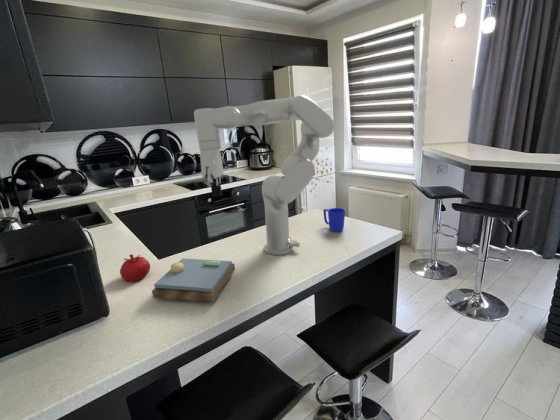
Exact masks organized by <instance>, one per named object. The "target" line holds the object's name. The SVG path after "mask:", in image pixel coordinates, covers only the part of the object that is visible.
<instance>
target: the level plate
mask: <svg viewBox="0 0 560 420" xmlns="http://www.w3.org/2000/svg"><path fill="white" fill-rule="evenodd" d="M232 263H233V261H232V260H217V259H198V258H185V257H184V258H181V259H180V260H179V261H178V262H175V263H172V264H171V265H170V269H169V270H168V271H167V272H166V273H164V275H163V276H162V277H160V278H159V279H158V280H157V281H156V282H155V283H154V284H153V285H154V288H167V289H179V290H192V291H205V292H213V290H214V289H215V288H216V286H217V285H218V283H219V282H220V281H221V279H222V278H223V276H224V275H225V274H226V272H227V271H228V269H229V268H230V267H231V265H232Z"/></svg>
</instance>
